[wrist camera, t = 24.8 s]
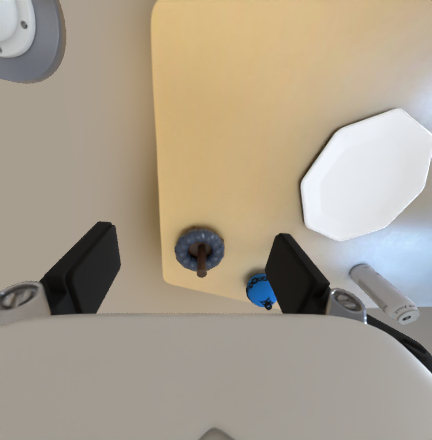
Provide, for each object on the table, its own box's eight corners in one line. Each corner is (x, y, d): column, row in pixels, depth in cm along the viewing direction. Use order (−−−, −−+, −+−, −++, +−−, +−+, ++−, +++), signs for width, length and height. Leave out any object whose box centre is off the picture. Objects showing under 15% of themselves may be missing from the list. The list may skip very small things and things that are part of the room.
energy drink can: (370, 272, 55) (424, 318, 42) (351, 281, 57) (397, 329, 43) (366, 259, 53) (422, 305, 40) (346, 269, 54) (393, 316, 41)
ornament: (264, 261, 50) (277, 291, 41) (277, 279, 54) (292, 310, 45) (237, 276, 52) (245, 307, 43) (252, 293, 56) (262, 324, 47)
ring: (168, 256, 45) (166, 264, 43) (187, 219, 41) (187, 225, 38) (210, 270, 49) (210, 279, 46) (232, 237, 44) (234, 244, 42)
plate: (292, 143, 36) (295, 144, 35) (437, 91, 34) (447, 90, 33) (305, 248, 49) (308, 252, 48) (411, 215, 47) (418, 218, 45)
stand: (180, 250, 46) (175, 280, 37) (194, 225, 43) (193, 252, 34) (207, 261, 49) (209, 292, 40) (223, 238, 46) (228, 267, 37)
